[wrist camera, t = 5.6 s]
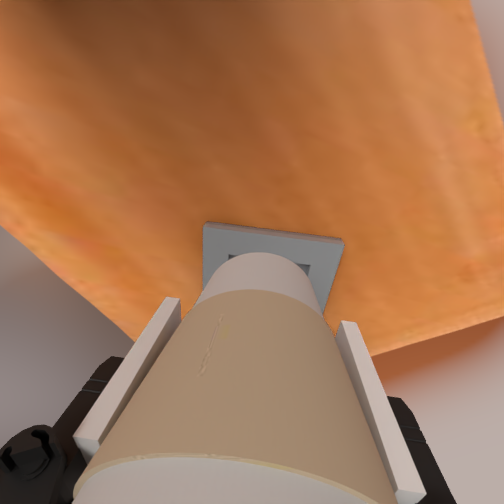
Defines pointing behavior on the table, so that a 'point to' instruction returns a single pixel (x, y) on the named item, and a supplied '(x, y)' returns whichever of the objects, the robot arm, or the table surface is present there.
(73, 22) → the table surface
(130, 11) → the table surface
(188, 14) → the table surface
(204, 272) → the frame
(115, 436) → the coffee cup
